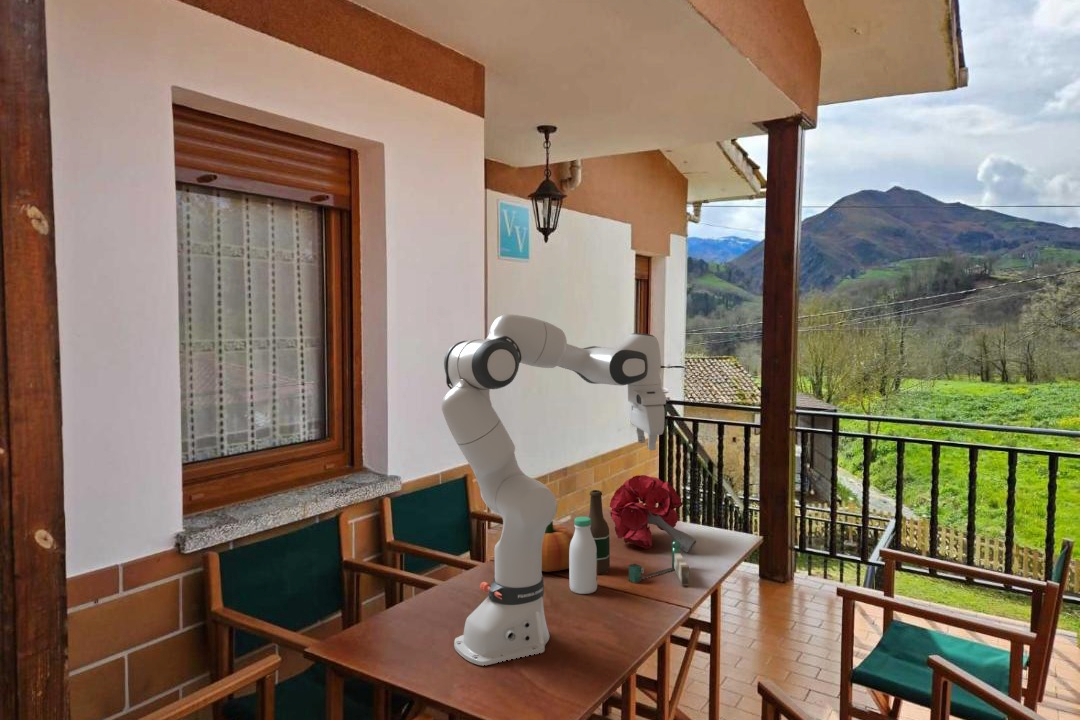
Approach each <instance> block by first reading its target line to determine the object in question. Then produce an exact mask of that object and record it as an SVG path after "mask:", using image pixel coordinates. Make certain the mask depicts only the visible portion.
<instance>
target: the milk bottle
mask: <svg viewBox="0 0 1080 720" xmlns="http://www.w3.org/2000/svg"><path fill="white" fill-rule="evenodd" d="M574 527H575V529H574V532H573V534H574V536H573V538H572V540H571V543H570V549H569V568H568V570H569V573H568V574H569V575H568V576H569V579H568V580H569V589H570V591H571V592H573V593H575V594H579V595H585V594H586V595H587V594H593V593H594V592H596V591H597V589H598V575H597V548H596V543H595V541H594V538H593V536H592V534H591V530H590V527H591V519H590V518H589V516H576V517H575V518H574Z"/></svg>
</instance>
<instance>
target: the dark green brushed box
mask: <svg viewBox="0 0 1080 720" xmlns="http://www.w3.org/2000/svg"><path fill="white" fill-rule="evenodd" d="M644 573H645V567H644V566H641V565H639V564H638V563H632V564H629V565H628V581H629V580H630V581H629V582H631V581H632V582H631V583H633V582H634V583H633V584H637V583H640V582H642V580H641V577H642V574H644ZM639 581H640V582H639ZM636 582H637V583H636Z"/></svg>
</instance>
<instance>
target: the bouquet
mask: <svg viewBox="0 0 1080 720" xmlns="http://www.w3.org/2000/svg"><path fill="white" fill-rule="evenodd" d="M657 504H660V505H657ZM683 505H684V503H683V502H682V498H681V497H680V496H679V494H677V491H676V489H675V488H674V486H673V485H671V484H670V482H669V481H663V480H661V479H660V478H658V477H654V476H649V475H644V474H641V475H640V474H639V475H634V476H632V477H631V478H628V479H627V480H626V481H624V483H623V484H622V485H621V486H620V487H619V488H617V489H616V490H615V492H614V494H613V495H612V497H611V499H610V503H609V507H610V509H611V510H610V512H609V514H610V517H611V518H610V519H612V521H613V522H614V531H615V535H616V537H617V539H623V542H624V543H625V544H628V543H630V544H632V545H635V546H637V547H641V548H643V547H644V548H643V549H650V548H651V547H652V546H653V537H652V536H653V535H652V534H653V533H652V531H651V530H650V528H651V527H650V525H653V526H656V527H657V528H658V529H659V530H661V531H664V532H666V533H667V535H669V536H670V537H671V539H672V540H673V541H674V540H678V541H679V542H680V544H681V547H680V550H682V551H684V552H685V553H687V552H688V553H690V551H692V549H693V548H694V546H695V544H696V543H697V539H696V538H694V537H693V536H691V535H690V534H687V533H685V532H683V531H681V530H679V529H677V528H675V527H676V526H677V523H678V520H679V516H678V513H677V511H676V509H678V508H681V507H682V506H683ZM648 525H649V526H648ZM688 553H687V554H688Z"/></svg>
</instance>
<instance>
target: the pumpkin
mask: <svg viewBox="0 0 1080 720" xmlns="http://www.w3.org/2000/svg"><path fill="white" fill-rule="evenodd" d="M553 521H554V520H553ZM553 521H552V522H551V523H550V524H549V525H548V526H547V528H546V531H545V534H544V538H543V543H542V572H546V573H547V572H548V573H549V572H550V573H551V572H556V571H563V570H564V571H565V570H569V549H570V543H571V540H572V538H573V536H574V532H571V530H569V529H567V528H566V527H564V526H562V525H555V524H553V523H554V522H553Z"/></svg>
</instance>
